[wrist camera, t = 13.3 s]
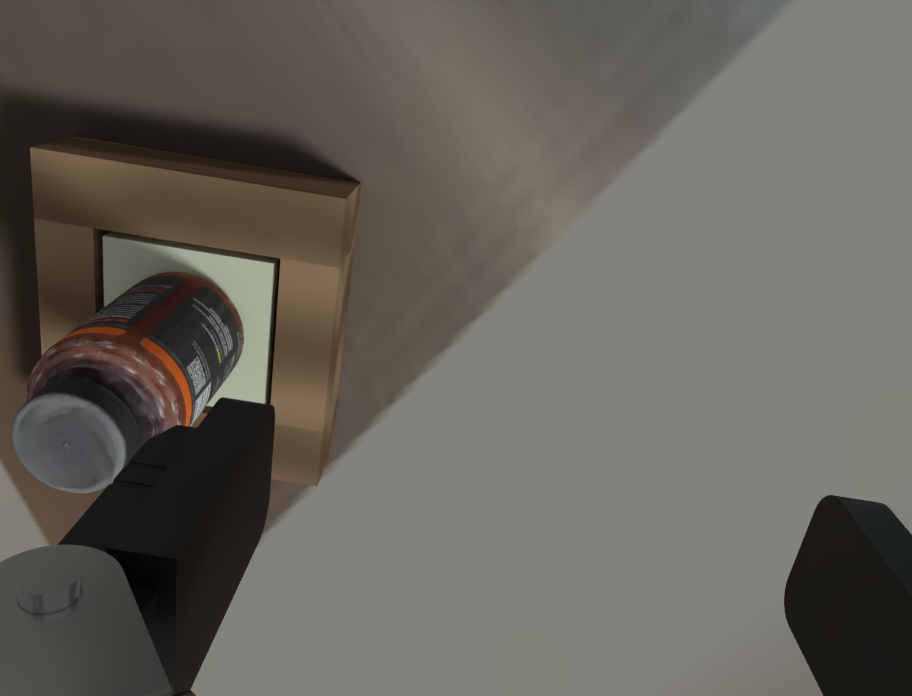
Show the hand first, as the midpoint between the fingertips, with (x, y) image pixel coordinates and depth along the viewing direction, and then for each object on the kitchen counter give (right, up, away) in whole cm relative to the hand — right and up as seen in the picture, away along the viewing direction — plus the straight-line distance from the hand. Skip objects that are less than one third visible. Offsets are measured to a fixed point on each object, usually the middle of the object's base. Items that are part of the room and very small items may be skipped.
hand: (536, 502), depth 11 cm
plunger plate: (-14, +4, +27) cm, 30 cm away
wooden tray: (-14, +5, +29) cm, 33 cm away
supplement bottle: (-14, +3, +26) cm, 30 cm away
